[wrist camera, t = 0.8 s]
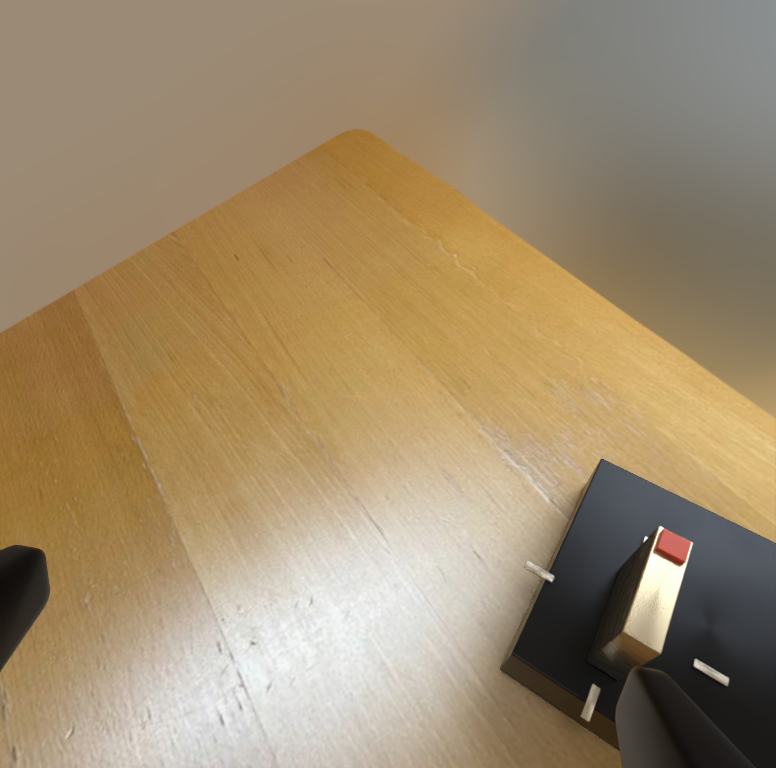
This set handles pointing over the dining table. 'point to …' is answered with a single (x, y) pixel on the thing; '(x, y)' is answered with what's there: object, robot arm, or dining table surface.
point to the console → (688, 624)
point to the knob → (641, 605)
